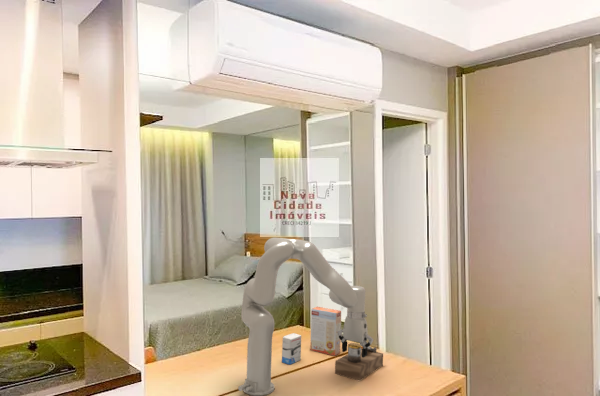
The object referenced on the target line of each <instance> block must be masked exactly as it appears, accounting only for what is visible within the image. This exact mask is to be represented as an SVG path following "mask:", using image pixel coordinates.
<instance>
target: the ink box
mask: <svg viewBox="0 0 600 396" xmlns="http://www.w3.org/2000/svg"><path fill="white" fill-rule="evenodd" d="M281 348H282V350H281V363H283V364H286V365H289V366H290V365H292V364H295V363H297V362H300V361H301V356H302V355H301V354H302V335H301V334H297V333H295V332H293V333H289V334H286V335H284V336H283V337H282V345H281Z"/></svg>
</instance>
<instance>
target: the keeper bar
mask: <svg viewBox="0 0 600 396" xmlns="http://www.w3.org/2000/svg"><path fill="white" fill-rule="evenodd" d="M359 344H360V345H361V348H363V346H362V344H361V343H359ZM373 348H374V347H372V346H371V345H370V346H369V347H367V350H368V351H372V352H373Z"/></svg>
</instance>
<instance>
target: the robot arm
mask: <svg viewBox="0 0 600 396" xmlns="http://www.w3.org/2000/svg"><path fill="white" fill-rule="evenodd" d="M263 247H264V249H263V250H264V253H263V254H262V255H261V257H260V258H259V260H258V262H257V265H256V268H255V269H256V270H255V273H254V274H255V275H254V277H252V278H250V279H249V280H248V281H247V282H246V284H245V286H244V289H243V295H242V304H241V312H240V313H241V316H240V317H241V321H242V322H243V324H244V325H245V326H246V327H247V328H248V329H249V333H248V338H247V349H246V350H247V353H246V354H247V355H246V356H247V357H246V360H247V361H246V379H244V383H243V384H241V385H239V386H238V388H237V389H238V391H239V392H242V391H243V392H244V394H245V393H246V394H247V395H250V396H266V395H269V394H272V393H273V392H274V391H275V384H274V383H273V382H272V358H273V357H272V352H273V348H272V347H273V346H272V345H273V337H274V336H273V334H274V330H275V319H274V317H273V314H272V313H271V312H270V311H268V309H266V308H265V307H267V306H269V305H271V304H272V303H273V302H274V299H275V295H276V285H277V276H278V273H279V269H280V268H281V266H282V265H283V264H285V262H288V260H291V259H293V260H298V261H300V262H301V264H303V266H304V267H305V269H307V270H308V272H309V273H310V275H311V276H312V277H313V278H314V279H315V280H316V281H317V282H318V283H320V284H321V285H323V286H324V287H326V288H327V289H328V290H329V292H328V296H329V299H330V300H331V301H332V302H333V303H335V304H337V305H339V306H341V307H344V308H346V310H347V311H346V316H345V317H344V318H345V319H344V324H343V329H342V328H341V330H339V331H337V333H338V336H339V338H340V340H341V342H340V344H341V351H342V352H341V353H345V352H348V341H350V342H352V343H357V344H360V343H361V344H362V346H363V347H362V346H361V348H362V357H363V358H364V357H365V356H367V347H369V346H370V347H371V346H372V343H373V341H374V338H373V337H372V336H371V335H369V332H368V330H369V329H368V322H367V319H366V318H367V317H368V315H367V314H366V311H365V310H366V309H365V308H366V289H365V287H363V286H361V285H350V283H349V282H348V281H347V280H346V279H345V278H344V277H343V276H342V275H341V274H340V273H339V272H338V271H337V270H336V269H335V268H334V267H332V266H331V264H330V263H329V262H328V260H327V259H326V257H325V256H324V254H322V253H321V251H320V250H319V249H318V248H317V246H316V245H315V244H314V243H313V242H310V241H308V240H303V239H296V238H284V237H270V238H269V239H267V240H266V242H265V243H264V246H263Z"/></svg>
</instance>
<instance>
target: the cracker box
mask: <svg viewBox="0 0 600 396" xmlns="http://www.w3.org/2000/svg"><path fill="white" fill-rule="evenodd" d="M310 311H311V315H310V316H311V318H310V319H311V320H310V347H309V349H310V351H312V352H313V351H314V352H318V353H321V354H325V355H329V356H337V355H339V354H340V353H341V340H340V338H339V336H338V333H337V331H339V330H342V310H339V309H333V308H332V309H331V308H327V307H323V306H322V307H321V306H315V307H313V308H311V310H310Z"/></svg>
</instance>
